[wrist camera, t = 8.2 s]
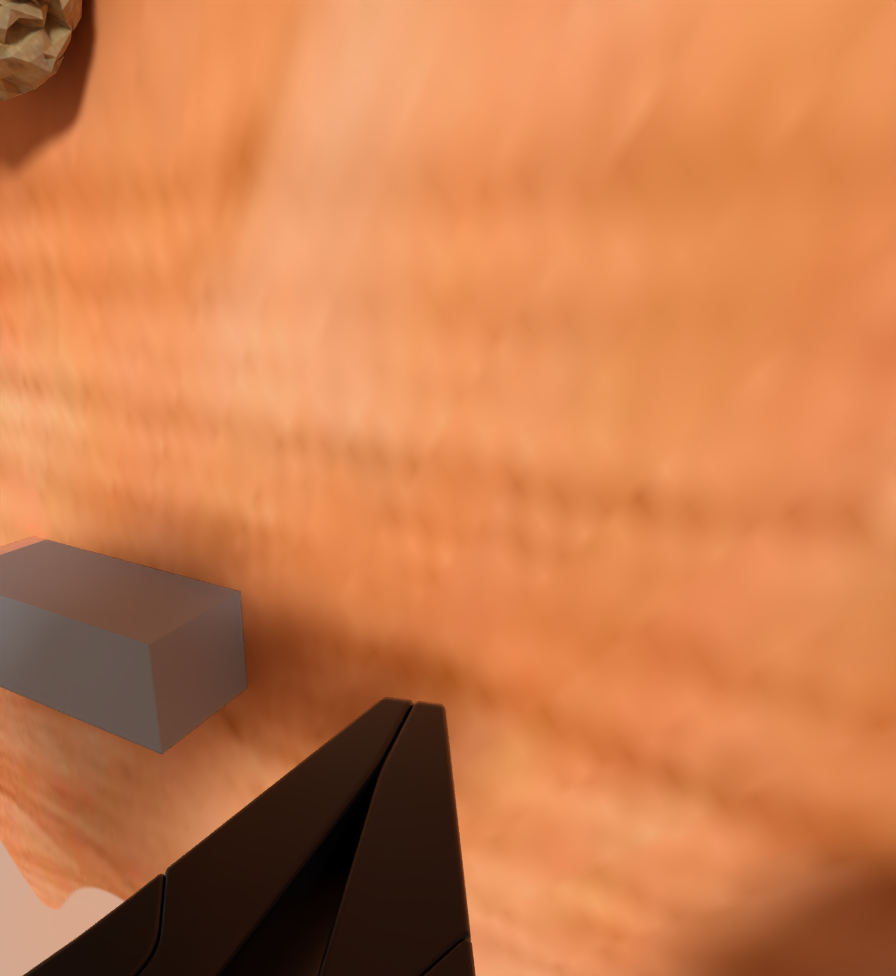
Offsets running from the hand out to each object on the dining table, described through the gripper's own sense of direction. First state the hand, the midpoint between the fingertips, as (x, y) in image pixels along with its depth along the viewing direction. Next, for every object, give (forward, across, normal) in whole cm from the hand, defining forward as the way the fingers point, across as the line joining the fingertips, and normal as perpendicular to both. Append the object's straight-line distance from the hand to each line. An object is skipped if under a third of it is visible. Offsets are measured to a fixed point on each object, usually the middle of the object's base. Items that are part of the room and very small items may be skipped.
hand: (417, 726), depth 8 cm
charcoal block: (+13, +13, +11) cm, 21 cm away
